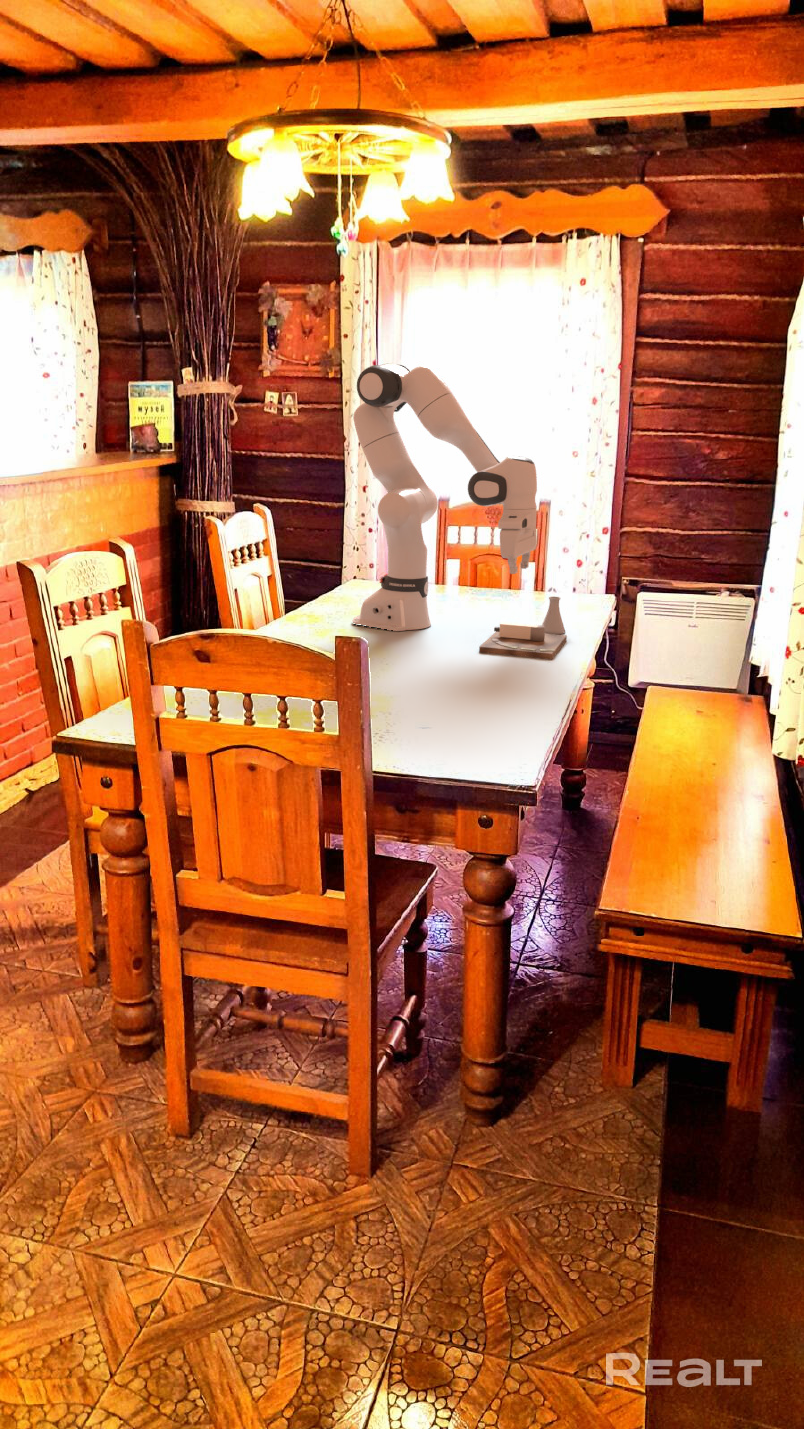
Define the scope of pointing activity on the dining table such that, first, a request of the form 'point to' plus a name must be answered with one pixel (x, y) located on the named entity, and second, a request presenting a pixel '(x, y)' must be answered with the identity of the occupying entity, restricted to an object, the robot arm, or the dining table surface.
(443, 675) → the dining table surface
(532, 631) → the peg lever
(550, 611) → the flask
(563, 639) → the board
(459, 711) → the dining table surface
